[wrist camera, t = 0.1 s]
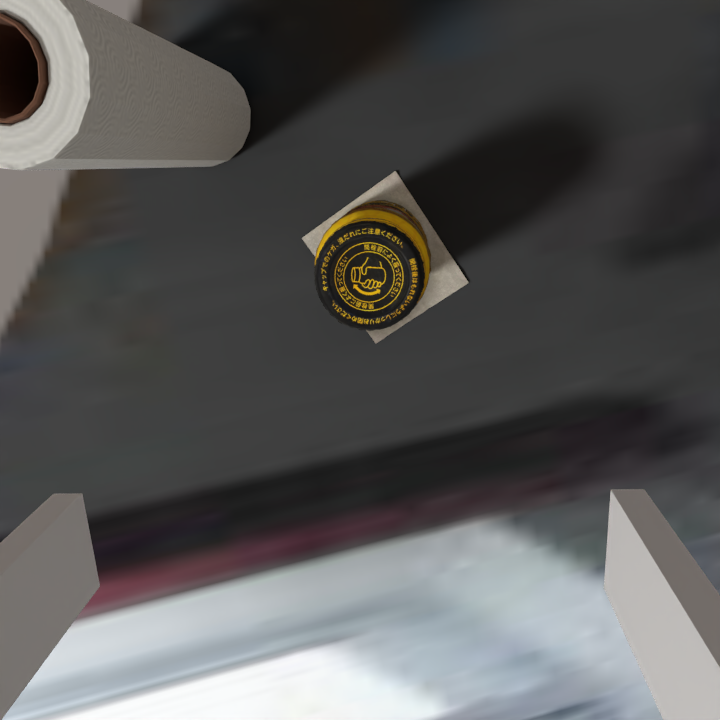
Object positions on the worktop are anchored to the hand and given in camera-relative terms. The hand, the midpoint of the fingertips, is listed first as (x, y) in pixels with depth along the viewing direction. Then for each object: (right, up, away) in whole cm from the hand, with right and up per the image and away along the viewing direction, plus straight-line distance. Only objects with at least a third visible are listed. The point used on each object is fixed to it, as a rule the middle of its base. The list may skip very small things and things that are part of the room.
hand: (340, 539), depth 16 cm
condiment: (+2, +11, +26) cm, 28 cm away
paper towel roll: (-9, +20, +24) cm, 33 cm away
